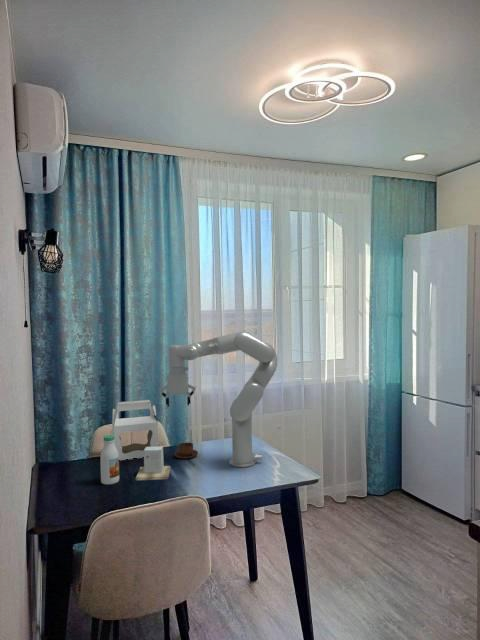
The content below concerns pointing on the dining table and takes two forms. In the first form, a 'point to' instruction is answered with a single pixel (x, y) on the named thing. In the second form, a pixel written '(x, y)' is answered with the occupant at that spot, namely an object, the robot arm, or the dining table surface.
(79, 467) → the dining table surface
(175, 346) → the robot arm
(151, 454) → the small box
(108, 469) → the milk bottle
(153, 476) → the oak board
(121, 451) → the gable box
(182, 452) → the cup and saucer
